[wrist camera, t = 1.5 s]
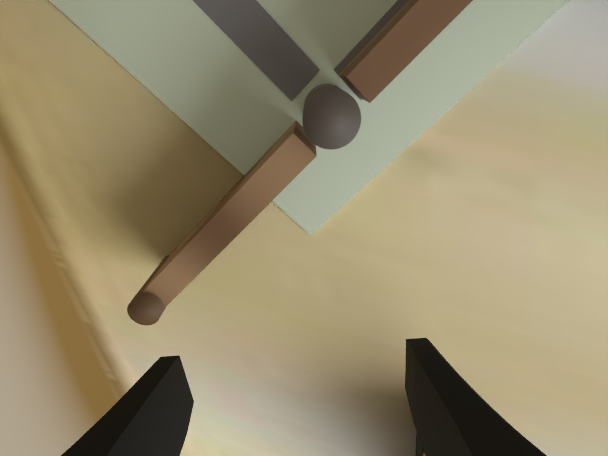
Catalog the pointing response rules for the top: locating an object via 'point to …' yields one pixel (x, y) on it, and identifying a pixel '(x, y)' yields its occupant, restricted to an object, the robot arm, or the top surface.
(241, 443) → the top surface
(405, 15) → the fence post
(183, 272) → the fence gate
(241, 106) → the card
